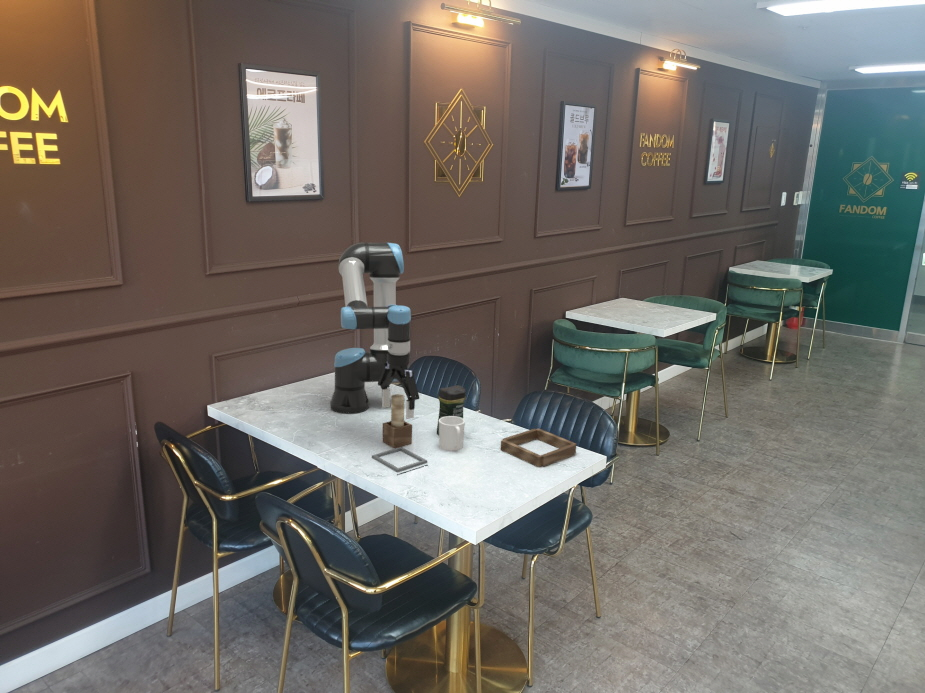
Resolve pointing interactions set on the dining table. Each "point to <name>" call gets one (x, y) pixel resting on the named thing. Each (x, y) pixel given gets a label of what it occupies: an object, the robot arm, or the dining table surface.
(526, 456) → the frame
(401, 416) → the dowel
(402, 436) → the pen cup
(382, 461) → the tray
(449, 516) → the dining table surface
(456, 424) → the mug
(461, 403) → the coffee jar
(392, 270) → the robot arm
